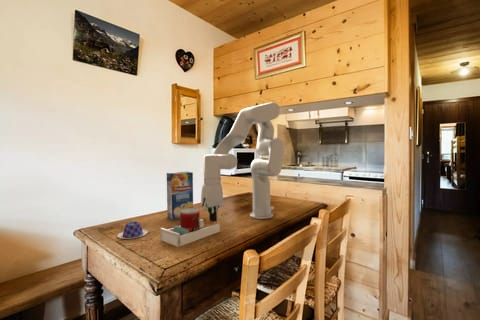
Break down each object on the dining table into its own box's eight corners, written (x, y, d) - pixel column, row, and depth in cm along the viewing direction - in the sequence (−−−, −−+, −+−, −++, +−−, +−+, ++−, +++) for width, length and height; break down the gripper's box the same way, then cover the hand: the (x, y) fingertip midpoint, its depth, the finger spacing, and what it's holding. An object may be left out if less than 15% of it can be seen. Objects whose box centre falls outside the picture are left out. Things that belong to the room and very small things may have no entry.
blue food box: (187, 213, 138) (187, 171, 137) (193, 216, 132) (192, 172, 131) (167, 217, 131) (166, 172, 130) (172, 220, 125) (171, 173, 124)
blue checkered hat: (146, 238, 99) (146, 226, 99) (114, 241, 96) (113, 228, 96) (149, 229, 111) (148, 218, 111) (120, 232, 108) (120, 220, 108)
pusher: (176, 235, 101) (175, 225, 101) (189, 240, 95) (188, 229, 95) (170, 237, 99) (170, 227, 99) (183, 242, 94) (183, 231, 93)
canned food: (195, 240, 97) (195, 213, 96) (177, 238, 98) (176, 212, 98) (202, 233, 104) (202, 208, 104) (185, 232, 106) (184, 207, 105)
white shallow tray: (202, 226, 114) (202, 216, 114) (219, 231, 107) (219, 220, 106) (160, 239, 97) (160, 228, 97) (178, 247, 90) (177, 234, 90)
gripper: (218, 179, 119) (218, 216, 119) (194, 182, 107) (195, 223, 108) (229, 180, 114) (230, 218, 115) (205, 184, 102) (206, 226, 103)
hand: (213, 220), depth 111 cm, fingers closed
